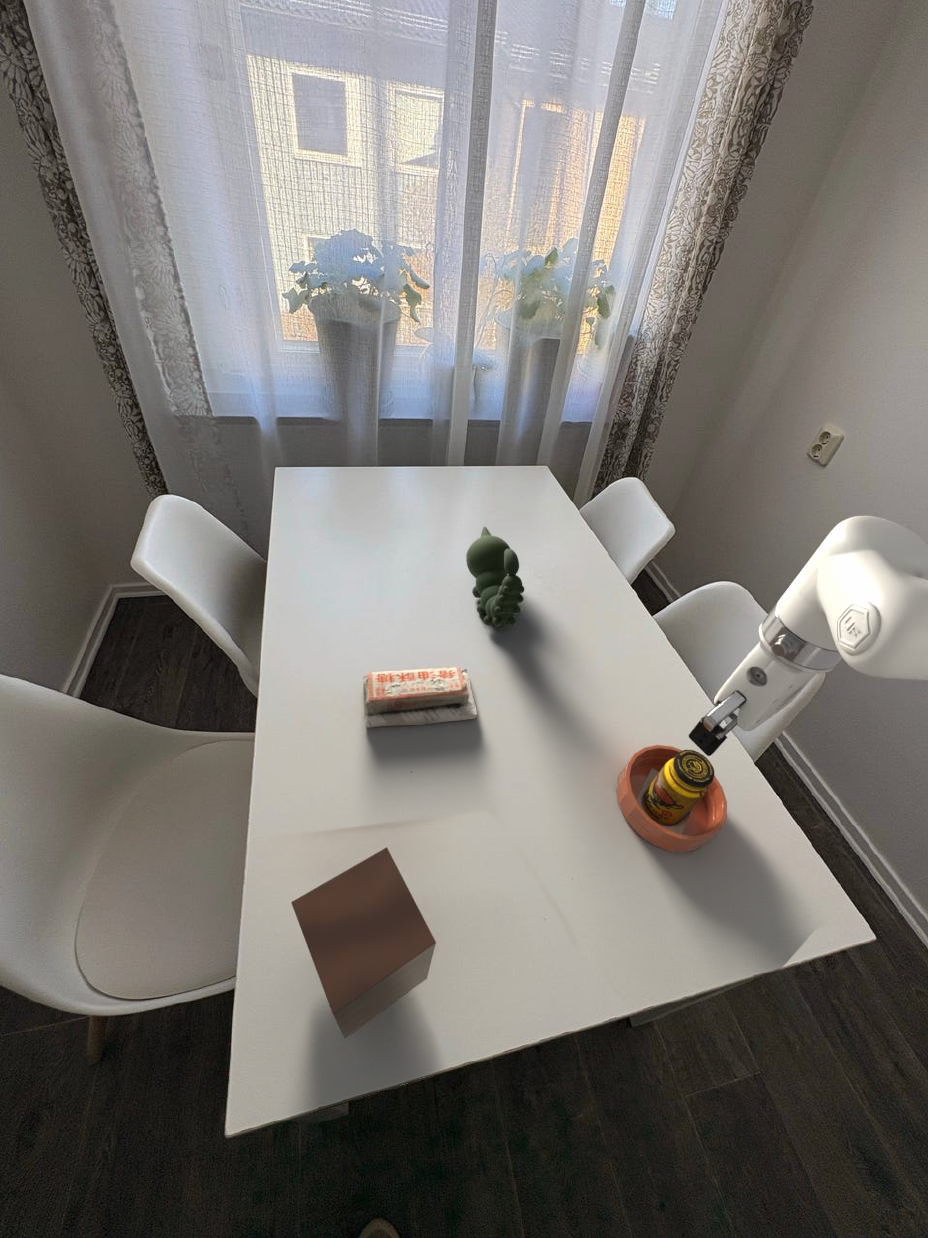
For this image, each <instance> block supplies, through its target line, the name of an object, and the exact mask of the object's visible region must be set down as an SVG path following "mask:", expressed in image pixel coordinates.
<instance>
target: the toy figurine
mask: <svg viewBox="0 0 928 1238" xmlns="http://www.w3.org/2000/svg"><path fill="white" fill-rule="evenodd" d="M465 554H466V556H465V559H466V560H465V561H466V567H467V569H468V571H469V573H470V575H471V576H472V577H473V578H474V579H475V586H474V587H473V588H472V589H471V590H472V591H471V594H472V595H473V598H476V599H480V600H479V601H480V602H479V604H478V605H477V607H476V611H477V613H478V614H479V615H485V614H486V615H485V616H484V618H483V624H484V625H485V626H487V627H491V626H495V627H500V626H501V625H502V624H503V625H505V626H512V627H513V626H515V625H516V624H517V618H516V617H515V615H519V614H520V613H521V612H522V608H521V607H520V606H519V604H520V603H523V602H524V596H523V595H522V594H523V593H524V592H525V587H524V585H523V581H522V578H521V577H520V576H519V575H517V574H518V572H519V570H520V561H519V557H518V555H517V553H516V552H515V551H514V550H513V549H512V548H511V546H509V543H507V542H506V541H505V540H504V539H503V538H501V537H499V536H495V535H492V533H491V532H490V531H489V529H488V528H487V527H486V526H483V527H482V530H481V533H480V537H478V538H476V539H475V540H474V541H473V542H472V543H471V544H470V546H469V548H468V549H467V550H466V553H465Z"/></svg>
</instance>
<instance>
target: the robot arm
mask: <svg viewBox="0 0 928 1238" xmlns="http://www.w3.org/2000/svg"><path fill="white" fill-rule="evenodd" d="M927 573H928V544H927V542H926V541H925V540H924V538H922V537H921V536H919V535H918V534H917V533H916V532H914V531H913V530H911V529H909V528H907V527H905V526H903V525H902V524H899V523H897V522H894V521H892V520H889V519H887V518H883V517H879V516H873V515H856V516H855V515H854V516H851V517H848V518H846V519H844V520H842V521H840V522H839V523H837V524H836V525H835V526H834V527H833V529H832V530H830V532H829V533H828V534H827V536H826V537H825V538H824V540H823V541H822V542H821V544H820V545H819V546H818V548H817V549H816V550H815V552H814V553H813V554H812V556H811V557H810V558H809V560H808V561H807V562H806V563H805V564H804V567H803V568H802V569H801V571H800V572H799V573H798V575H797V576H796V577H795V578H794V579H793V581H792V582H791V583H790V585H789V586H788V588H787V589H786V591H785V592H784V593H783V594H782V596H781V597H780V598H779V599H778V601H777V602H776V603H775V605H774V606H773V607H772V609H771V610H770V611H769V613H768V614H767V615H766V617H765V618H764V619H763V621H762V622H761V624H760V625H759V627H758V636H759V639H760V641H759V642H758V643H757V644H756V646H754V647H753V648H752V650H751V651H750V652H748V654H747V655H746V657H745V658H744V659H743V660H742V662H741V663H739V665H738V667H736V669H735V670H734V671H733V672H732V674H731V675H730V676H729V677H728V678H727V680H726V681H725V682H724V684H723V685H722V686H721V687H720V689H719V690H718V692H717V694H715V697H714V700H713V702H714V707H713V708H711V709H710V710H709V711H708V712H707V713H706V714H705V715H704V716H702V717H701V719H700V720H699V721H698V722H697V724H696V725H695V726H694V727H693V729H692V730H691V731H690V733H689V734H688V738H689V739H690V740H691V742H693V744H695V745H696V747H697V748H698V749H700V750H701V751H702V752H703V753H704V755H706V756H707V757H710V756H712V755H714V753H715V752H717V750H718V749H719V748H720V747H721V745H722V744H723V743H724V742H725V741H726V740H727V739H728V736H727V735H728V734H729V733H730V732H731V731H732V730H733V729H734V728H735V727H739V728H740V729H741V730H742V731H743V732H751V731H753V730H755V729H757V728H758V727H760V726H762V724H765V723H766V722H767V721H768V720H769V719H771V718H772V717H774V716H775V715H777V714H778V713H779V712H780V711H782V710H783V709H784V708H787V706H788V705H790V704H791V703H792V702H793V701H794V700H795V699H797V697H798V696H799V694H800V693H802V691H803V690H804V689H805V687H806V686H808V684H809V683H810V681H812V680H813V678H814V677H815V676H816V675H817V674H819V675H820V674H826V673H828V672H829V673H830V672H831V671H832V670H833V669H835V668H836V667H837V666H838V665H839V663H840V662H842V661H843V660H844V661H845V662H846V664H847V665H848V666H849V667H851V669H853V670H855V671H857V672H858V673H861V674H862V675H866V676H869V677H872V678H878V679H879V678H880V679H888V680H889V679H892V680H893V679H895V680H909V681H910V680H911V681H912V680H913V681H928V579H926V578H924V577H925V576H926V575H927ZM737 710H738V714H735V712H736V711H737ZM727 718H729V719H730V720H731V721H729V722H728V723H727V724H726V725H725V726H724V727H722V726H721V724H722V723H723V721H725V720H726V719H727Z"/></svg>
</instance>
